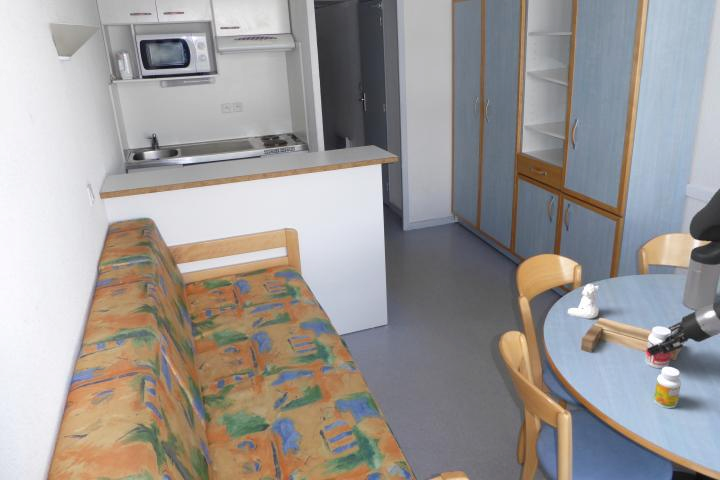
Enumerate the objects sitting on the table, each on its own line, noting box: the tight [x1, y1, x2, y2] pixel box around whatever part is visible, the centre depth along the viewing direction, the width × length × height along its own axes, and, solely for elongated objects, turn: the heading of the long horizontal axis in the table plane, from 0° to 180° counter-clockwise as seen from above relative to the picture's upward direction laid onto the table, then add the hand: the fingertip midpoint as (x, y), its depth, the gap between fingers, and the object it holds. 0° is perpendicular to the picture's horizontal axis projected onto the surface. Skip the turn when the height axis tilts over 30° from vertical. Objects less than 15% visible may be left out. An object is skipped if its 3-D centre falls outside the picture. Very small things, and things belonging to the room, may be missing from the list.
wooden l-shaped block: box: [580, 317, 682, 361], centre depth 167 cm, size 18×24×4 cm
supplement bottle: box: [653, 366, 682, 409], centre depth 143 cm, size 5×5×10 cm
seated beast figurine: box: [567, 283, 600, 320], centre depth 186 cm, size 10×9×12 cm
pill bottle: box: [644, 325, 671, 369], centre depth 158 cm, size 6×6×11 cm
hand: (652, 346), depth 160 cm, fingers closed on pill bottle, 6 cm apart
